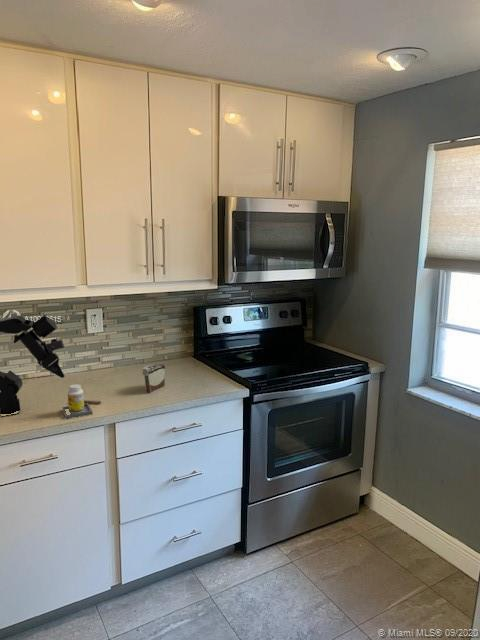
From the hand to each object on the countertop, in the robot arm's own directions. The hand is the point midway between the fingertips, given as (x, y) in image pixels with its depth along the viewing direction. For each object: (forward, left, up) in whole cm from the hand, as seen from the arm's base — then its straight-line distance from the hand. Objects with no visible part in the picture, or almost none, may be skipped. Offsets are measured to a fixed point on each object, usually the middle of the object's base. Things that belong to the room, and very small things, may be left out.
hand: (61, 376), depth 178 cm
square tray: (+4, -5, -13) cm, 15 cm away
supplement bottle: (+4, -5, -13) cm, 15 cm away
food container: (+37, +7, -14) cm, 40 cm away
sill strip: (+8, +2, -13) cm, 16 cm away
